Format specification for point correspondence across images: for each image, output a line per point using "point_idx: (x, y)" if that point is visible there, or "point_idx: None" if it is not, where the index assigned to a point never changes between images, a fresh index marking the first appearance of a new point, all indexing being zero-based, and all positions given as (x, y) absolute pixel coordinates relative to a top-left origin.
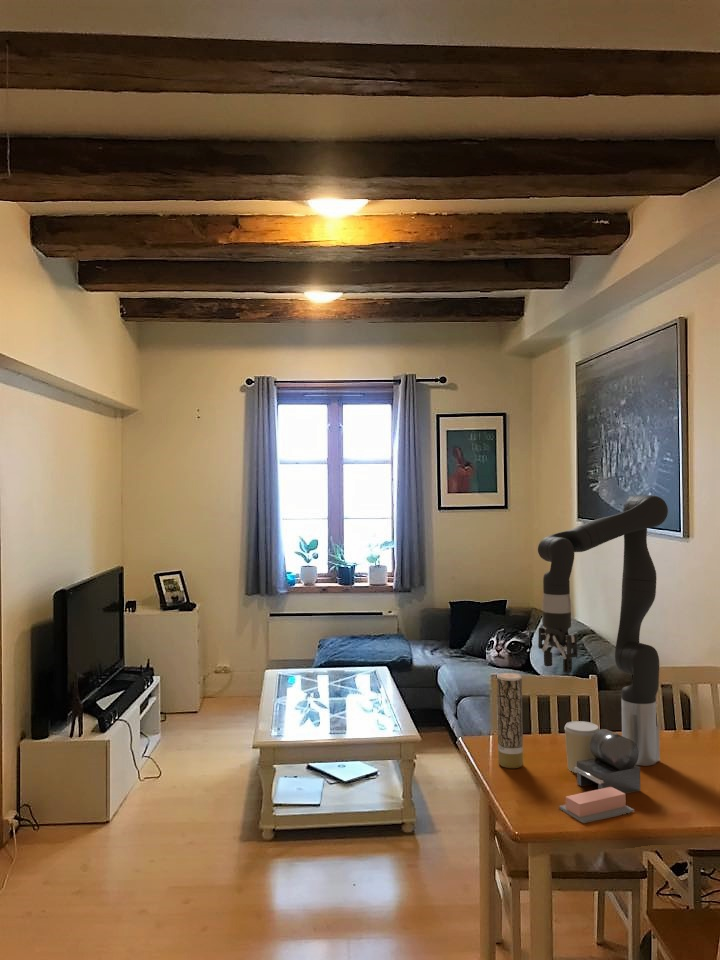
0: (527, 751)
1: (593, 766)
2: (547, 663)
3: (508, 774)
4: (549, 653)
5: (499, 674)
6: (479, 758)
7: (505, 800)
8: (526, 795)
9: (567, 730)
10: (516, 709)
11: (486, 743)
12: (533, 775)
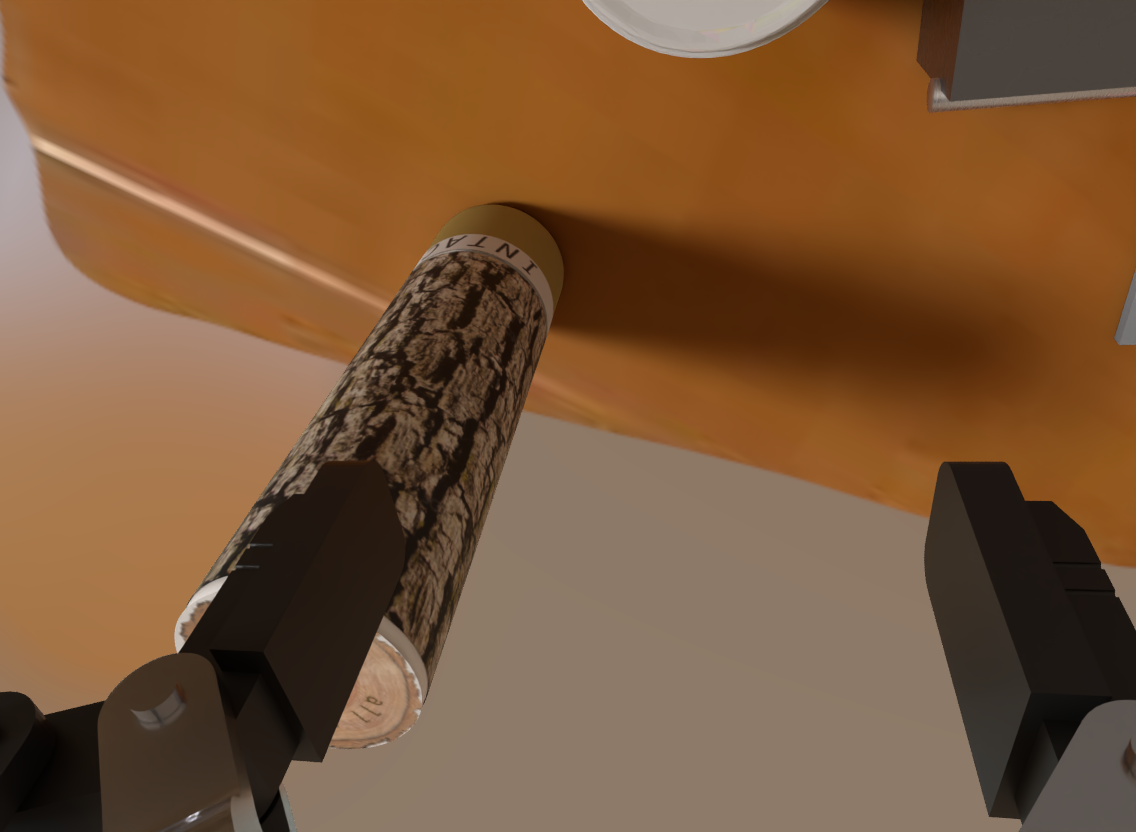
0: (305, 55)
1: (1111, 39)
2: (385, 563)
3: (619, 334)
4: (295, 686)
5: None
6: None
7: (886, 482)
8: (890, 387)
9: (706, 57)
10: (494, 471)
11: (157, 221)
12: (679, 228)
